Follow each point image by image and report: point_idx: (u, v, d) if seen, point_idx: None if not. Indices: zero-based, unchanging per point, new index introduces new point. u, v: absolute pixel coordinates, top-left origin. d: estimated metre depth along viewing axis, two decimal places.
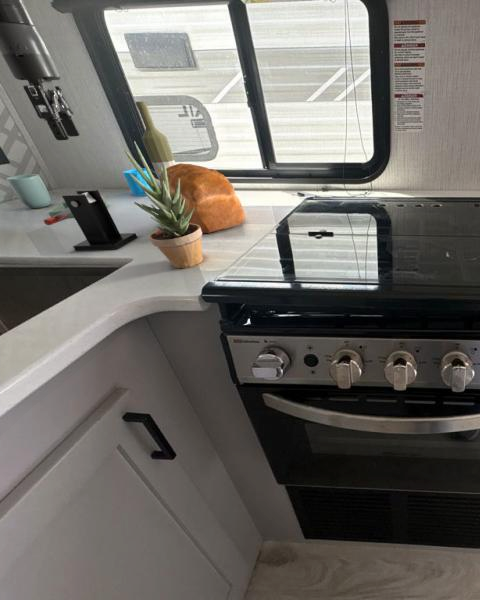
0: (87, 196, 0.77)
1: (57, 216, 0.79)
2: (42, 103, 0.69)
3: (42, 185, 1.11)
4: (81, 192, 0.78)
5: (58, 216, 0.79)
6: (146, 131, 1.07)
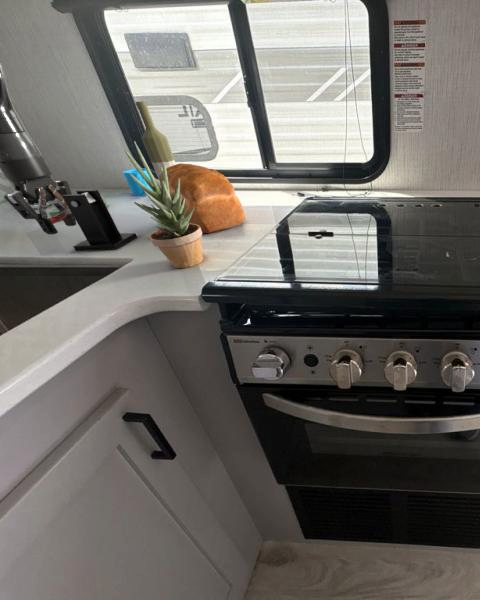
0: (87, 196, 0.77)
1: (57, 216, 0.79)
2: (23, 209, 0.73)
3: None
4: (81, 192, 0.78)
5: (58, 216, 0.79)
6: (146, 131, 1.07)
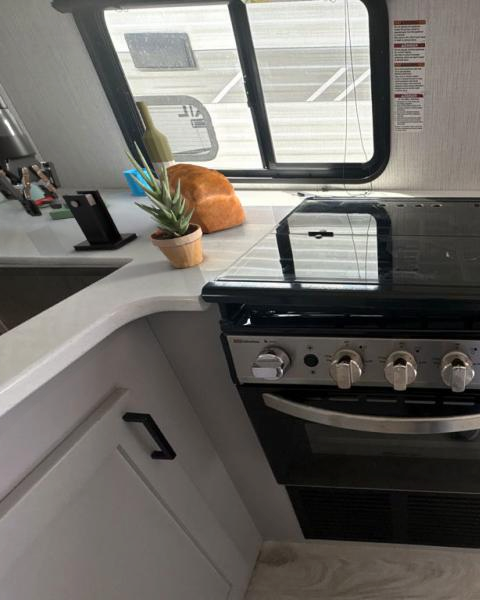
0: (89, 198, 0.78)
1: (45, 201, 0.77)
2: (5, 189, 0.70)
3: None
4: (81, 192, 0.78)
5: (46, 202, 0.77)
6: (146, 131, 1.07)
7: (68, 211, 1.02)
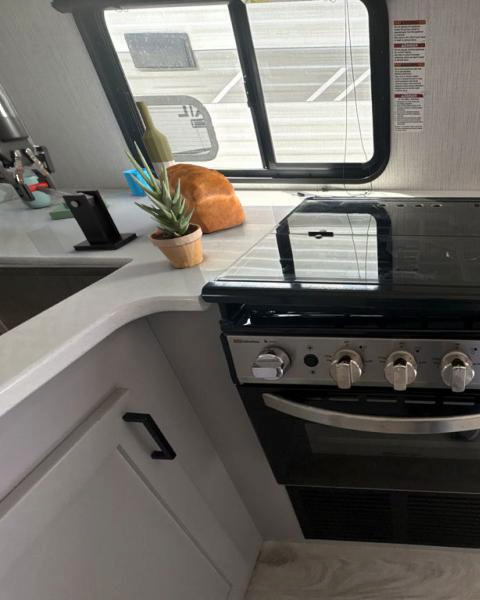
0: (91, 200, 0.78)
1: (40, 189, 0.76)
2: None
3: None
4: (81, 192, 0.78)
5: (41, 189, 0.76)
6: (146, 131, 1.07)
7: (68, 211, 1.02)
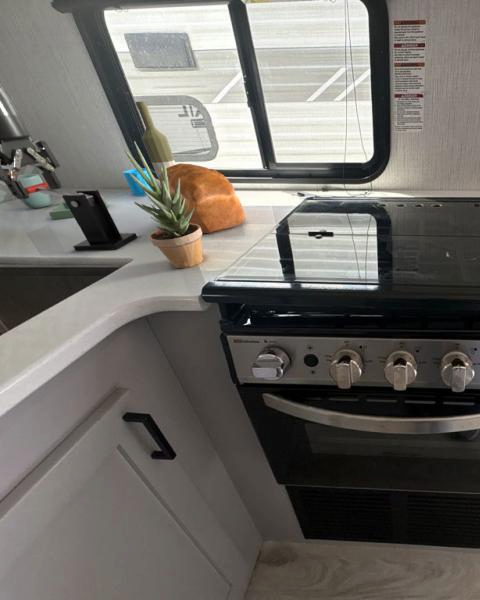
0: (91, 200, 0.78)
1: (40, 190, 0.76)
2: None
3: None
4: (81, 192, 0.78)
5: (41, 190, 0.76)
6: (146, 131, 1.07)
7: (68, 211, 1.02)
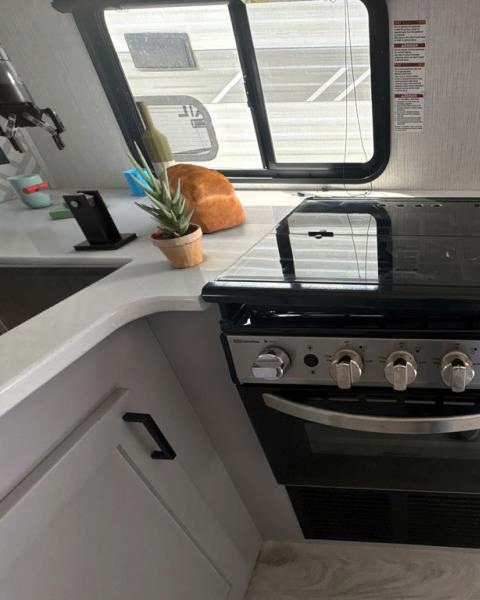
0: (91, 200, 0.78)
1: (40, 190, 0.76)
2: None
3: None
4: (81, 192, 0.78)
5: (41, 190, 0.76)
6: (146, 131, 1.07)
7: (68, 211, 1.02)
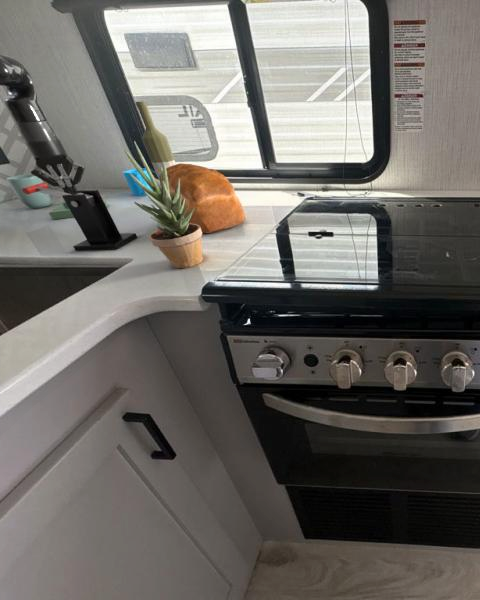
0: (91, 200, 0.78)
1: (40, 190, 0.76)
2: None
3: None
4: (81, 192, 0.78)
5: (41, 190, 0.76)
6: (146, 131, 1.07)
7: (68, 211, 1.02)
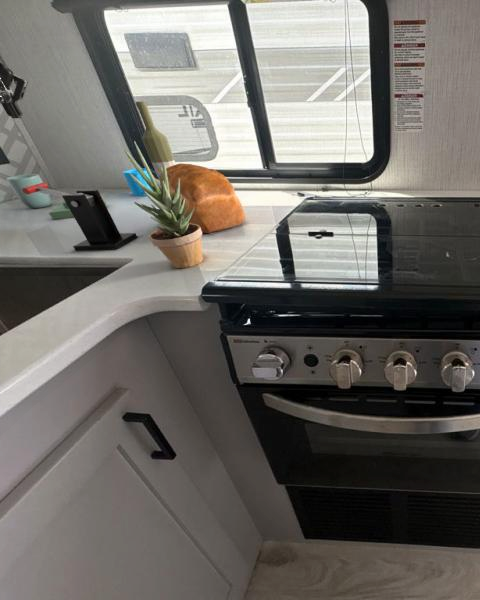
0: (91, 200, 0.78)
1: (40, 190, 0.76)
2: None
3: None
4: (81, 192, 0.78)
5: (41, 190, 0.76)
6: (146, 131, 1.07)
7: (68, 211, 1.02)
